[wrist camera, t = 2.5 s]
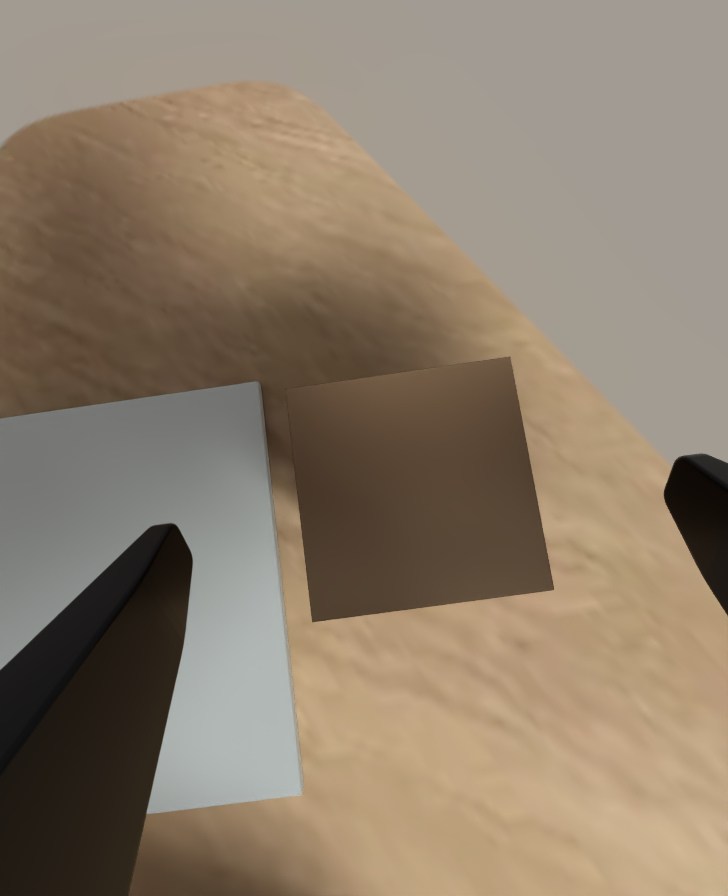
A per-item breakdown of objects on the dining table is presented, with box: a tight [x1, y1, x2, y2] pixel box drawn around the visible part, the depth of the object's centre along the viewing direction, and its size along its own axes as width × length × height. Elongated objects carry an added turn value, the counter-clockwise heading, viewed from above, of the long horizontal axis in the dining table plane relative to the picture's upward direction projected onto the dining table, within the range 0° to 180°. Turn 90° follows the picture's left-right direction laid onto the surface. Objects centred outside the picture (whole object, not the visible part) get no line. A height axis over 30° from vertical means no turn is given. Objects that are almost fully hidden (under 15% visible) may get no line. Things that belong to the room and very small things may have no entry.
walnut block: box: [285, 357, 554, 622], centre depth 12 cm, size 4×4×9 cm
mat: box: [0, 381, 304, 814], centre depth 16 cm, size 14×11×1 cm
